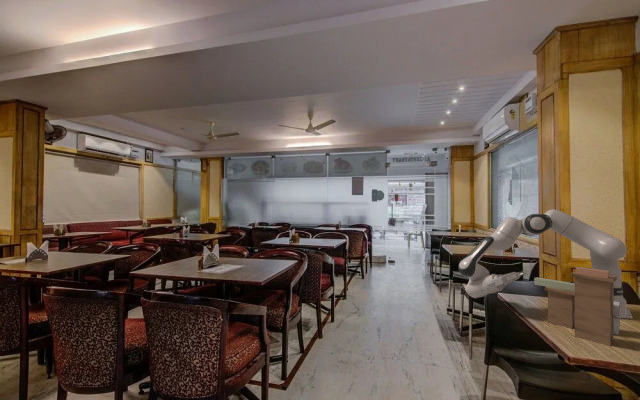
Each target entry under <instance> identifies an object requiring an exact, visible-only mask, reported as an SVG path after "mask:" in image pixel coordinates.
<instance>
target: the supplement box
mask: <svg viewBox="0 0 640 400" xmlns="http://www.w3.org/2000/svg"><path fill="white" fill-rule="evenodd" d="M620 319H621V318H620V302H615V301H614V335H616V336H619V335H620V326H621V323H620V321H621V320H620Z"/></svg>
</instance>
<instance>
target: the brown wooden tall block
mask: <svg viewBox="0 0 640 400" xmlns="http://www.w3.org/2000/svg"><path fill="white" fill-rule="evenodd" d="M570 277H574V283H575V326H574V337H575V338H577V339H583V340H587V341H590V342H594V343H598V344H603V345H604V346H605V345H606V346H609V347H610V346H611V345H612V344H613V343H614V340H615V339H614V335H615V334H614V281H616V280H617V276H613V275H609V278H601V277H594V276H587V275H580V274H576V270H574V271H573V272H571V273H570Z"/></svg>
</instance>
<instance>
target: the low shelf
mask: <svg viewBox="0 0 640 400" xmlns="http://www.w3.org/2000/svg"><path fill="white" fill-rule="evenodd" d="M544 291H547V323H549V324H552V325H557V326H559V327H563V328H569V329H574V328H575V292H574V291H569V290H563V289H557V288H552V287H546V286H544Z"/></svg>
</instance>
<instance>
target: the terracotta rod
mask: <svg viewBox="0 0 640 400" xmlns="http://www.w3.org/2000/svg"><path fill="white" fill-rule="evenodd" d="M575 271H576V274H580V275H587V276H594V277H601V278H609V271H604V270H596V269H592V268H588V267H580V266H577V267H575Z"/></svg>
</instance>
